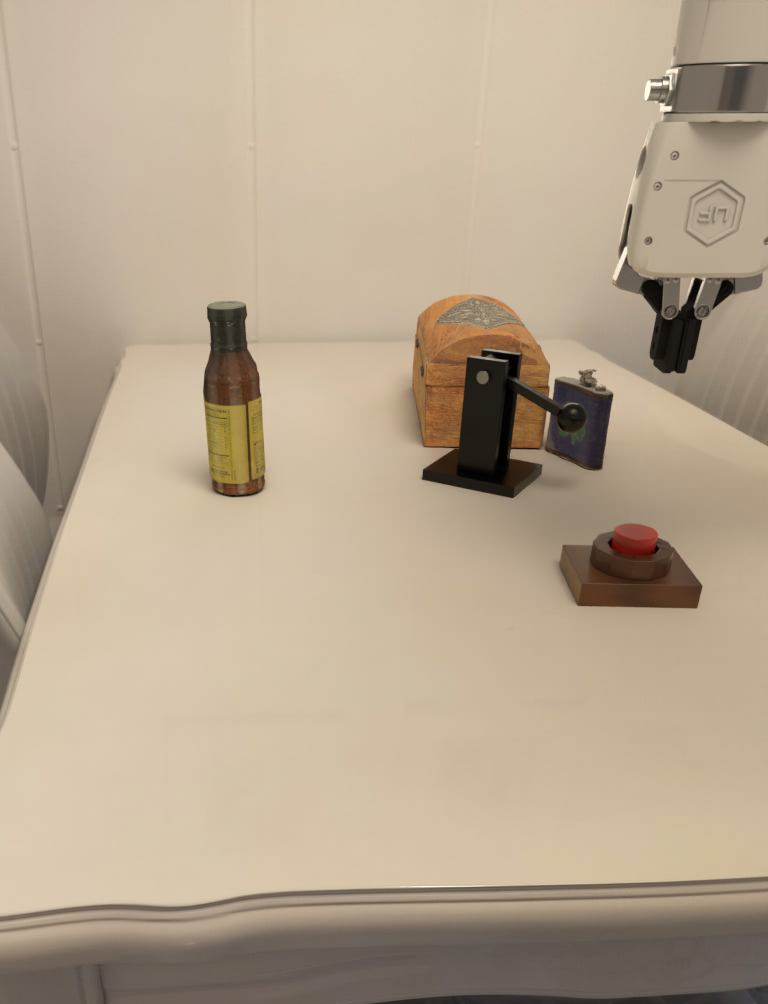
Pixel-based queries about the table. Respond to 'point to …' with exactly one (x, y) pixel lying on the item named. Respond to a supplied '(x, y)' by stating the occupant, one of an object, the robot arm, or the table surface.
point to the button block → (628, 576)
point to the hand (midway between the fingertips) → (668, 368)
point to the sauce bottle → (233, 404)
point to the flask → (592, 438)
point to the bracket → (486, 432)
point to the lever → (550, 405)
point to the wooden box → (443, 357)
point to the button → (634, 539)
